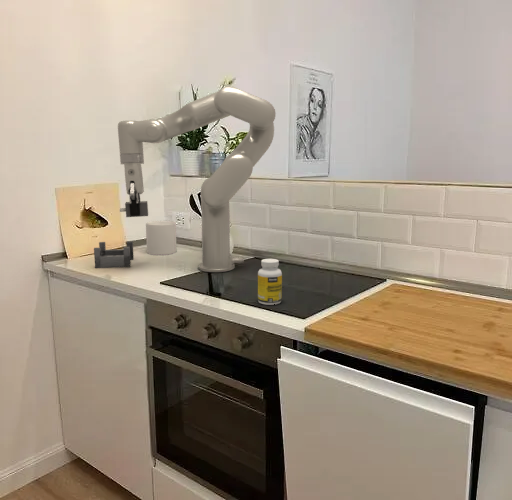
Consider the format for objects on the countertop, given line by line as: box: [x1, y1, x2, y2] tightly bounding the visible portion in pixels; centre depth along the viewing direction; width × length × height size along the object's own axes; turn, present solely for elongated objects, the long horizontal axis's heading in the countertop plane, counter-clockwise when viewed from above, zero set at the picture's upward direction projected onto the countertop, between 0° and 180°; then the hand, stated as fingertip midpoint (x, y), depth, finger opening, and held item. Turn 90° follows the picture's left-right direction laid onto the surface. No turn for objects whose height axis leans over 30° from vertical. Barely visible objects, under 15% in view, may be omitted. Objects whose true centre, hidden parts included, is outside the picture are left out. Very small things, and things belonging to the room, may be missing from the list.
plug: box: [119, 200, 149, 218], centre depth 169 cm, size 9×5×4 cm, turn 100°
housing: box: [93, 240, 135, 269], centre depth 183 cm, size 12×12×7 cm
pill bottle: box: [257, 258, 283, 306], centre depth 137 cm, size 6×6×12 cm
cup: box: [145, 220, 177, 256], centre depth 202 cm, size 12×12×12 cm
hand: (136, 214), depth 170 cm, fingers closed on plug, 5 cm apart
